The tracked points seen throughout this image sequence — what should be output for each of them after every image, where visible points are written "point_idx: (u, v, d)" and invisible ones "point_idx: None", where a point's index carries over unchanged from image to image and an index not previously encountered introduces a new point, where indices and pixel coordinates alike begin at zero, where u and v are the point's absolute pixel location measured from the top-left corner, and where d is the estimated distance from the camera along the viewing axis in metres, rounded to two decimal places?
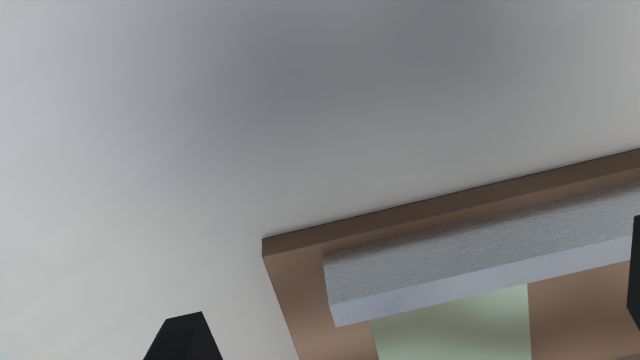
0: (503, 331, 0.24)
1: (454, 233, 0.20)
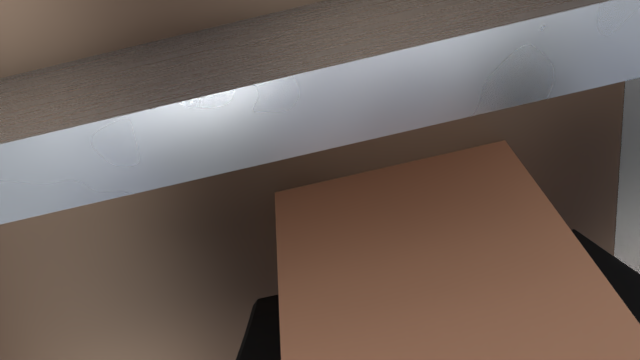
0: None
1: None
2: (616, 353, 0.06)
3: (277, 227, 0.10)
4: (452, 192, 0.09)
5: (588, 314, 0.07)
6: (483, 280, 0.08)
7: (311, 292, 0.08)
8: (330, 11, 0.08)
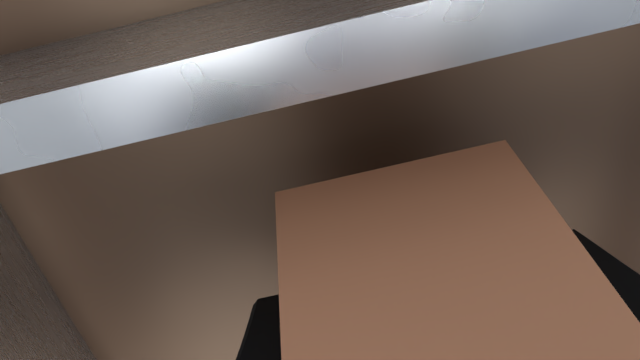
0: None
1: None
2: (617, 353, 0.06)
3: (277, 227, 0.09)
4: (452, 192, 0.09)
5: (589, 314, 0.07)
6: (484, 280, 0.08)
7: (312, 292, 0.08)
8: None
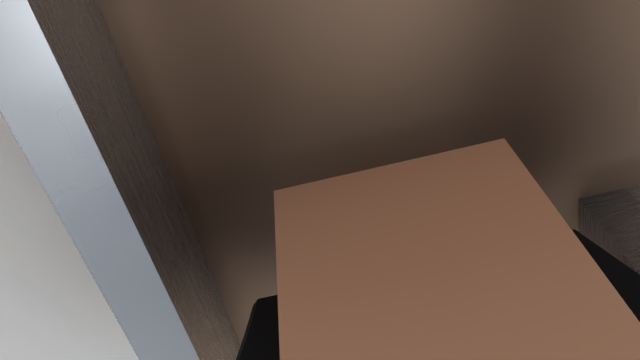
0: None
1: None
2: (616, 351, 0.06)
3: (276, 225, 0.09)
4: (451, 190, 0.09)
5: (587, 312, 0.07)
6: (483, 277, 0.08)
7: (311, 290, 0.08)
8: None
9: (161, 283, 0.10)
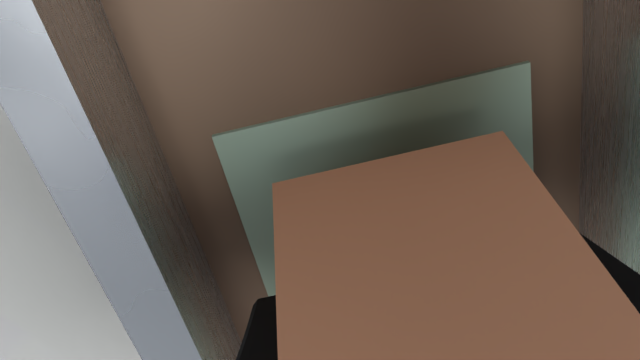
0: (415, 139, 0.12)
1: None
2: (613, 338, 0.06)
3: (274, 217, 0.09)
4: (449, 182, 0.09)
5: (585, 300, 0.07)
6: (480, 267, 0.08)
7: (308, 281, 0.08)
8: None
9: None
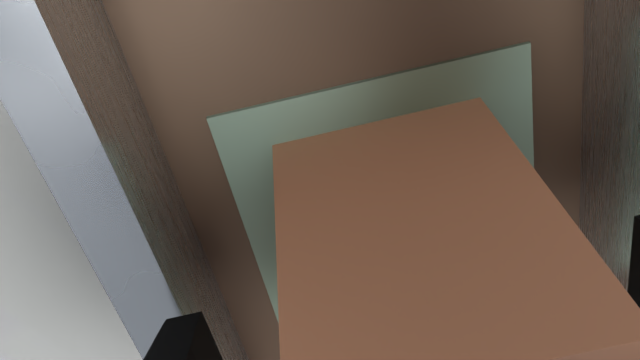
0: None
1: None
2: (562, 256, 0.07)
3: (274, 172, 0.11)
4: (430, 140, 0.10)
5: (541, 229, 0.08)
6: (454, 207, 0.09)
7: (304, 221, 0.09)
8: None
9: None
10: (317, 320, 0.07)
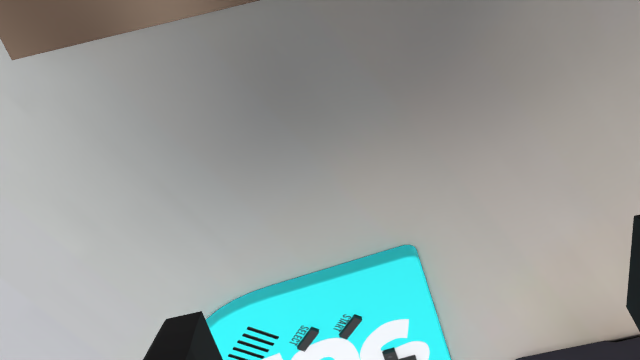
0: None
1: None
2: None
3: None
4: None
5: None
6: None
7: None
8: None
9: None
10: None
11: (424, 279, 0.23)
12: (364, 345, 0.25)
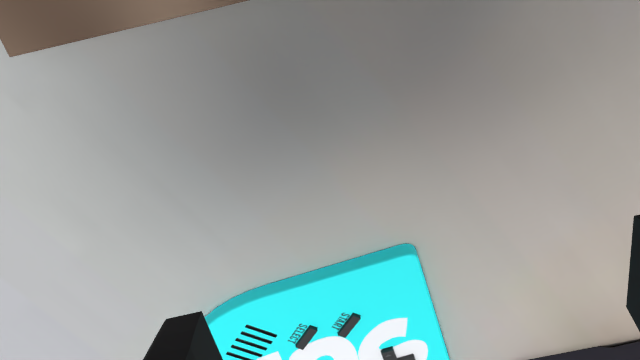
0: None
1: None
2: None
3: None
4: None
5: None
6: None
7: None
8: None
9: None
10: None
11: (423, 278, 0.23)
12: (362, 344, 0.25)
